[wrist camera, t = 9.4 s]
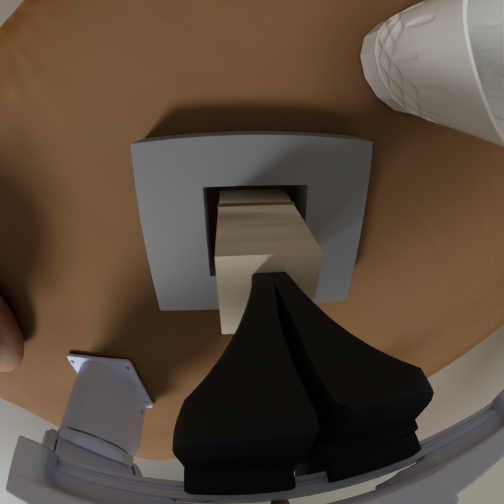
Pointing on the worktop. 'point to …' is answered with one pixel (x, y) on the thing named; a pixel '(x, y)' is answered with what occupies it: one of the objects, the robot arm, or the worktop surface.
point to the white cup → (442, 64)
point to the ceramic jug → (9, 339)
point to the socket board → (246, 174)
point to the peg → (260, 248)
